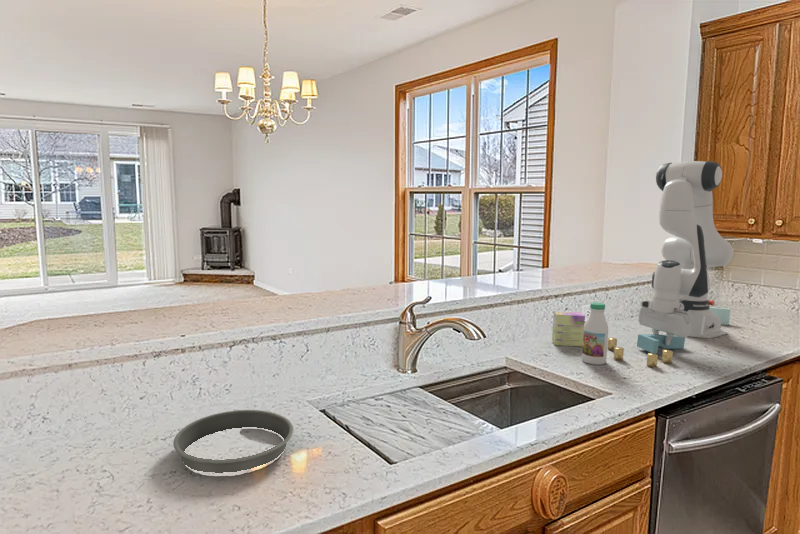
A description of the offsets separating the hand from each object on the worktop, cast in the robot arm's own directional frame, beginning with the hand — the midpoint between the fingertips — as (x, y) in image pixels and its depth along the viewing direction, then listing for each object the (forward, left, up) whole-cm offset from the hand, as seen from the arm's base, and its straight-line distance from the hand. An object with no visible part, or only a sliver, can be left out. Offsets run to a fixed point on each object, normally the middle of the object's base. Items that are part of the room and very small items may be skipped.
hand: (662, 342), depth 193 cm
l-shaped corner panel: (-58, -26, -3) cm, 64 cm away
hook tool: (+1, +3, -2) cm, 3 cm away
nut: (+6, +4, -2) cm, 8 cm away
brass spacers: (+18, +4, -2) cm, 18 cm away
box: (+29, -16, -3) cm, 33 cm away
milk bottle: (+34, +4, -2) cm, 34 cm away
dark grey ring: (+151, +27, -3) cm, 153 cm away
